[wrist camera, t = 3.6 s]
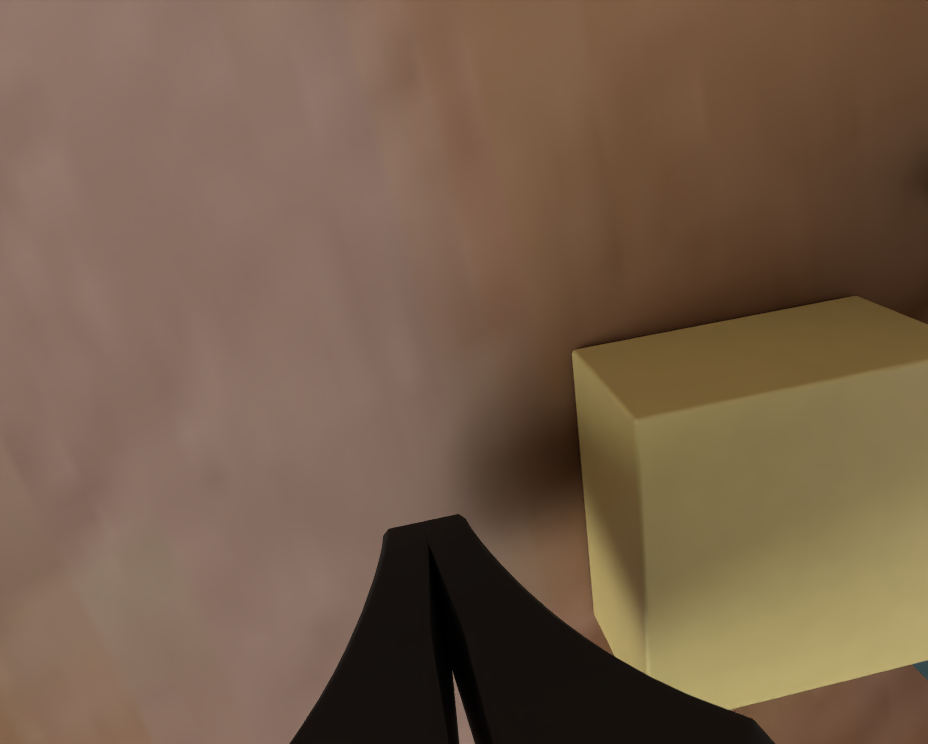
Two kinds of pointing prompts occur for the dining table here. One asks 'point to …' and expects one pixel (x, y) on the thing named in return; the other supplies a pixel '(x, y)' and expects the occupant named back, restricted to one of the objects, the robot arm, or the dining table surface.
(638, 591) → the block
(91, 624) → the dining table surface
